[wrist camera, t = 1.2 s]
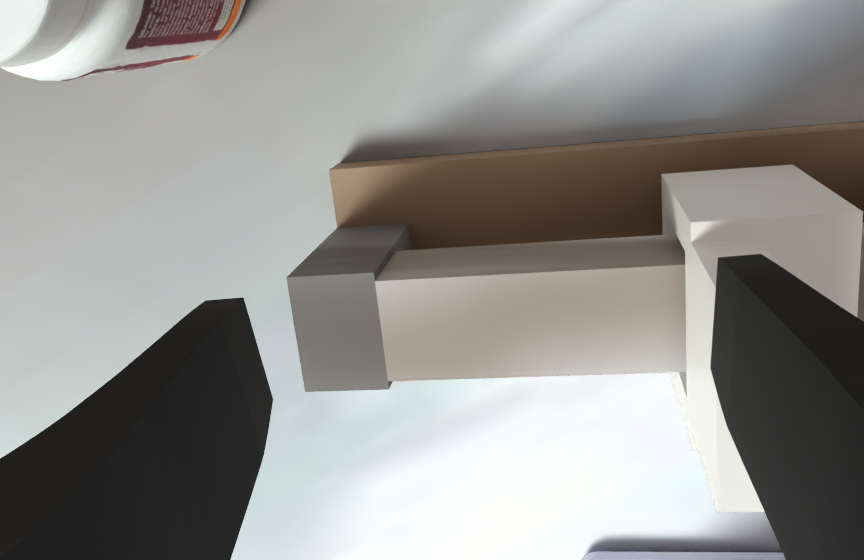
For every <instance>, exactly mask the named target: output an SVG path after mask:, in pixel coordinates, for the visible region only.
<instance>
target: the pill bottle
mask: <svg viewBox="0 0 864 560" xmlns="http://www.w3.org/2000/svg"><path fill="white" fill-rule="evenodd" d="M244 4H245V0H0V68H3V69H5V70H7V71H9V72H12V73H15V74H17V75H20V76H24V77H28V78H32V79H37V80H42V81H68V80H72V79H76V78H82V77H87V76H93V75H100V74H106V73H114V72H120V71H126V70H133V69H139V68H146V67H151V66H158V65H166V64H172V63H178V62H183V61H188V60H192V59H195V58H198V57H200V56H202V55H204V54H206V53H208V52H210V51H211V50H212V49H214V48H215V47H217V46H218V45H219V44H221V43H222V42H223V41H224V40H225V39H226V37H227V36H228V35H229V34H230V33H231V32H232V30H233V28H234V27H235V25H236V24H237V22H238V20H239V18H240V15H241V12H242V10H243V7H244Z"/></svg>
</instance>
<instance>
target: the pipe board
mask: <svg viewBox="0 0 864 560" xmlns="http://www.w3.org/2000/svg"><path fill="white" fill-rule="evenodd" d="M792 164H793V165H794V166H796V167H797V168H799V169H800V170H802V171H803V172H805V173H806V174H808V175H809V176H811V177H812V178H814V179H815V180H817V181H818V182H819V183H821V184H822V185H824V186H825V187H827V188H828V189H830V190H831V191H833V192H834V193H836V194H837V195H839V196H840V197H842V198H843V199H845V200H846V201H848V202H849V203H851V204H852V205H854V206H855V207H857V208H858V209H860V210H861V211H863V222H862V240H861V258H860V276H859V294H858V312H857V318H859V319H861V320H862V321H864V121H863V122H850V123H838V124H825V125H812V126H800V127H787V128H775V129H762V130H750V131H737V132H725V133H712V134H700V135H687V136H675V137H662V138H650V139H637V140H625V141H612V142H600V143H587V144H575V145H562V146H550V147H537V148H525V149H512V150H500V151H487V152H475V153H462V154H450V155H437V156H425V157H412V158H400V159H387V160H375V161H362V162H350V163H339V164H337V165H336V166H334V167H333V168H331V169H330V170H329V172H330V179H331V186H332V193H333V200H334V207H335V214H336V221H337V229H336V230H335V231H334V232H333V233H332V234H331V235H330V236H329V237H328V238H327V239H326V240H325V241H323V242H322V243H321V244H320V245H319V246H318V247H317V248H316V249H315V250H314V251H313V252H312V253H311V254H310V255H309V256H308V257H307V258H306V259H305V260H304V261H303V262H302V263H301V264H300V265H299V266H298V267H297V268H296V269H295V270H294V271H293V272H292V273H291V274H290V275H289V276H287V283H288V290H289V296H290V302H291V308H292V314H293V320H294V326H295V332H296V338H297V344H298V351H299V357H300V363H301V369H302V375H303V381H304V387H305V392H313V391H347V390H380V389H389V388H390V386H391V384H392V382H393V381H412V380H443V379H475V378H507V377H538V376H570V375H602V374H633V373H665V372H686V289H685V250H684V248H683V246H682V245H681V243H680V241H679V239H678V237H677V235H676V234H670V235H663V234H662V183H661V174H668V173H682V172H696V171H710V170H723V169H737V168H751V167H765V166H779V165H792Z"/></svg>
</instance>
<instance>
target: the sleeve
mask: <svg viewBox="0 0 864 560" xmlns="http://www.w3.org/2000/svg"><path fill="white" fill-rule="evenodd" d="M661 183H662V234H663V235H670V234H676V235H677V237H678V239H679V241H680V243H681V245H682V246H683V248H684V250H685V289H686V372H670V375H671V379H672V382H673V385H674V389H675V392H676V396H677V399H678V402H679V406H680V409H681V412H682V416H683V419H684V422H685V426H686V429H687V432H688V436H689V439H690V443H691V446H692V449H693V450H698V452H699V455H700V458H701V461H702V465H703V468H704V471H705V474H706V478H707V481H708V484H709V487H710V490H711V494H712V497H713V500H714V503H715V507H716V510H717V512H765V511H764V509H763V507H762V504H761V502H760V500H759V498H758V495H757V493H756V491H755V489H754V487H753V484H752V482H751V480H750V478H749V475H748V473H747V471H746V469H745V466H744V464H743V462H742V460H741V457H740V455H739V453H738V450H737V448H736V446H735V444H734V441H733V439H732V437H731V434H730V432H729V430H728V427H727V425H726V422H725V418H724V415H723V412H722V408H721V405H720V402H719V398H718V395H717V391H716V387H715V383H714V380H713V376H712V372H711V369H710V365H711V350H712V336H713V321H714V307H715V292H716V278H717V263H718V257H730V256H741V255H753V254H762V255H764V256H765V257H767V258H769V259H770V260H772V261H773V262H775V263H776V264H778V265H779V266H781V267H782V268H784V269H785V270H787V271H788V272H790V273H791V274H793V275H794V276H796V277H797V278H799V279H800V280H802V281H803V282H805V283H806V284H807V285H809V286H810V287H812V288H813V289H815V290H816V291H818V292H819V293H821V294H822V295H824V296H825V297H827V298H828V299H830V300H831V301H833V302H834V303H836V304H837V305H839V306H840V307H842V308H843V309H845V310H846V311H848V312H850V313H851V314H853V315H854V316H856V317H857V312H858V294H859V276H860V258H861V240H862V222H863V211H861V210H860V209H858V208H857V207H855V206H854V205H852V204H851V203H849V202H848V201H846V200H845V199H843V198H842V197H840V196H839V195H837V194H836V193H834V192H833V191H831V190H830V189H828V188H827V187H825V186H824V185H822V184H821V183H819V182H818V181H817V180H815V179H814V178H812V177H811V176H809V175H808V174H806V173H805V172H803V171H802V170H800V169H799V168H797V167H796V166H794V165H793V164H792V165H779V166H765V167H751V168H737V169H723V170H710V171H696V172H682V173H668V174H661Z"/></svg>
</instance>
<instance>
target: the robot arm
mask: <svg viewBox="0 0 864 560" xmlns="http://www.w3.org/2000/svg"><path fill="white" fill-rule="evenodd" d="M710 369H711V372H712V376H713V380H714V383H715V387H716V391H717V395H718V398H719V402H720V405H721V408H722V412H723V415H724V418H725V422H726V425H727V427H728V430H729V432H730V434H731V437H732V439H733V441H734V444H735V446H736V448H737V450H738V453H739V455H740V457H741V460H742V462H743V464H744V466H745V469H746V471H747V473H748V475H749V478H750V480H751V482H752V484H753V487H754V489H755V491H756V493H757V495H758V498H759V500H760V502H761V504H762V507H763V509H764V511H765V513H766V516H767V518H768V520H769V522H770V525H771V527H772V529H773V531H774V533H775V536H776V538H777V540H778V542H779V545H780V547H781V549H782V552H607V551H596V552H590V553H588V554H586V555H584V557H583V558H582V559H581V560H864V321H862V320H861V319H859V318H857V317H856V316H854V315H853V314H851V313H850V312H848V311H846V310H845V309H843V308H842V307H840V306H839V305H837V304H836V303H834V302H833V301H831V300H830V299H828V298H827V297H825V296H824V295H822V294H821V293H819V292H818V291H816V290H815V289H813V288H812V287H810V286H809V285H807V284H806V283H805V282H803V281H802V280H800V279H799V278H797V277H796V276H794V275H793V274H791V273H790V272H788V271H787V270H785V269H784V268H782V267H781V266H779V265H778V264H776V263H775V262H773V261H772V260H770V259H769V258H767V257H765V256H764V255H762V254H753V255H741V256H730V257H718V263H717V278H716V292H715V307H714V321H713V336H712V350H711V365H710ZM272 402H273V398H272V395H271V391H270V388H269V384H268V381H267V377H266V374H265V371H264V367H263V364H262V360H261V357H260V353H259V350H258V346H257V343H256V340H255V336H254V333H253V329H252V326H251V322H250V319H249V315H248V312H247V309H246V305H245V302H244V298H233V299H221V300H209V301H205V302H203V303H202V304H201V305H199V306H198V307H196V308H195V309H194V310H193V311H191V312H190V313H189V314H188V315H186V316H185V317H184V318H183V319H182V320H180V321H179V322H178V323H177V324H176V325H175V326H173V327H172V328H171V329H170V330H169V331H168V332H166V333H165V334H164V335H163V336H162V337H161V338H160V339H158V340H157V341H156V342H155V343H154V344H153V345H151V346H150V347H149V348H148V349H147V350H146V351H144V352H143V353H142V354H141V355H140V356H138V357H137V358H136V359H135V360H134V361H133V362H131V363H130V364H129V365H128V366H127V367H126V368H124V369H123V370H122V371H121V372H120V373H118V374H117V375H116V376H115V377H113V378H112V379H111V380H110V381H108V382H107V383H106V384H105V385H103V386H102V387H101V388H99V389H98V390H97V391H96V392H94V393H93V394H92V395H90V396H89V397H88V398H87V399H85V400H84V401H83V402H81V403H80V404H79V405H78V406H76V407H75V408H74V409H73V410H71V411H70V412H69V413H67V414H66V415H65V416H63V417H62V418H61V419H59V420H58V421H56V422H55V423H54V424H52V425H51V426H49V427H48V428H46V429H45V430H44V431H42V432H41V433H39V434H38V435H36V436H35V437H33V438H32V439H30V440H29V441H27V442H26V443H24V444H22V445H21V446H19V447H18V448H16V449H15V450H13V451H12V452H10V453H9V454H7V455H6V456H4V457H2V458H1V459H0V560H230V559H231V556H232V553H233V550H234V547H235V544H236V540H237V537H238V534H239V531H240V528H241V525H242V522H243V519H244V516H245V513H246V510H247V507H248V504H249V500H250V497H251V494H252V491H253V488H254V485H255V481H256V478H257V475H258V472H259V469H260V465H261V462H262V459H263V455H264V450H265V445H266V439H267V434H268V428H269V422H270V415H271V408H272Z"/></svg>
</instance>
